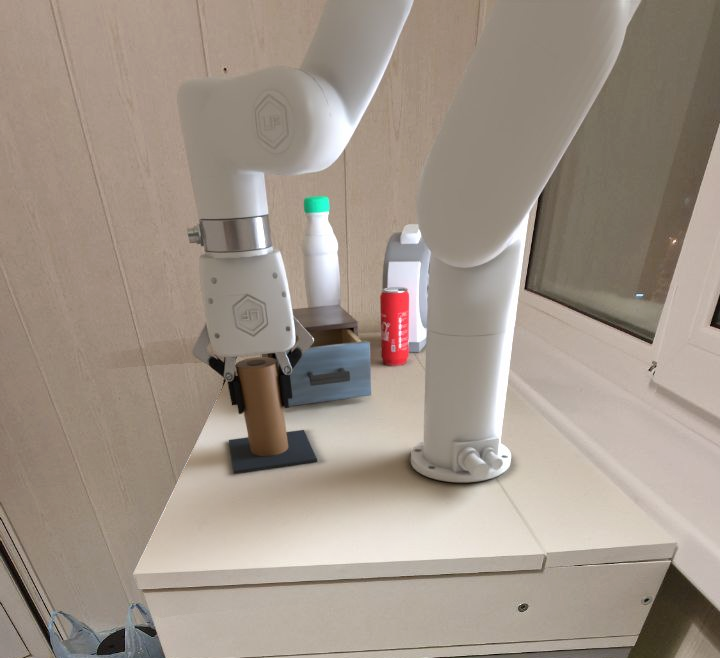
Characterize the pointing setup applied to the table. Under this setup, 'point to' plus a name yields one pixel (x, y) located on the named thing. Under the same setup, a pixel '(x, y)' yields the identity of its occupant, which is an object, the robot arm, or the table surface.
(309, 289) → the water bottle
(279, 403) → the paper roll
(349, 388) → the drawer
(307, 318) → the cabinet
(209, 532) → the table surface
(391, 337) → the beverage can
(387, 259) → the white and grey container
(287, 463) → the mat
